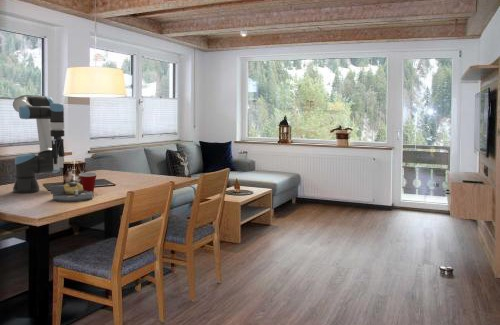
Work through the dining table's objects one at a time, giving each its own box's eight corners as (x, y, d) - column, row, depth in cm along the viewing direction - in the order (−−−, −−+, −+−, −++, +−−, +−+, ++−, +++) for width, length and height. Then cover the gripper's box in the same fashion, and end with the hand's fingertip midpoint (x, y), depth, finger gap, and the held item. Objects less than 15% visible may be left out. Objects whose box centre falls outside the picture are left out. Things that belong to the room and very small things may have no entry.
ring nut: (82, 190, 281) (81, 180, 280) (83, 193, 271) (83, 183, 270) (50, 192, 274) (50, 182, 273) (51, 195, 264) (50, 185, 263)
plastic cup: (77, 194, 288) (77, 174, 286) (81, 190, 298) (80, 172, 297) (96, 193, 289) (95, 174, 288) (98, 190, 300) (98, 172, 299)
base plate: (56, 195, 282) (55, 184, 281) (94, 194, 288) (94, 183, 287) (49, 202, 261) (49, 191, 260) (91, 201, 266) (91, 190, 266)
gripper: (56, 128, 282) (57, 166, 285) (44, 130, 262) (45, 170, 264) (69, 129, 283) (70, 166, 285) (58, 130, 262) (59, 170, 265)
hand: (58, 168), depth 275 cm, fingers open, 8 cm apart
